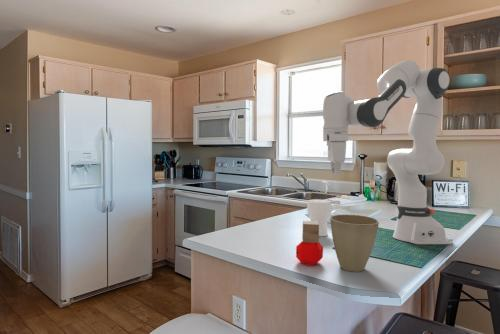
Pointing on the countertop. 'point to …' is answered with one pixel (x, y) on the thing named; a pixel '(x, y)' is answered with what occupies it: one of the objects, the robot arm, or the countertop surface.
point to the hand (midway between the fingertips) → (335, 174)
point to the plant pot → (353, 240)
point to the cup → (320, 213)
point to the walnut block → (310, 231)
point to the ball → (309, 253)
